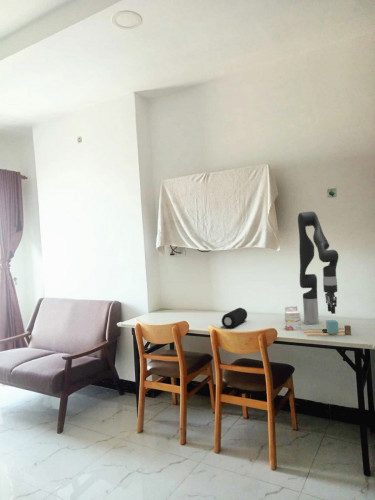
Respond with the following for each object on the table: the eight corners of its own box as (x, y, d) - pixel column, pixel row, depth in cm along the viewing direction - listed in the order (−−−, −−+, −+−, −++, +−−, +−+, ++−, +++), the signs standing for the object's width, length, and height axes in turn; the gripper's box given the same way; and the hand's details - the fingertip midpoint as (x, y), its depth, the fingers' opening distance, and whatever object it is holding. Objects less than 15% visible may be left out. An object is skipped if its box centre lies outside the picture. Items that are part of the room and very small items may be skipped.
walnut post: (344, 333, 208) (344, 325, 208) (349, 333, 207) (349, 325, 207) (346, 335, 205) (346, 326, 205) (351, 334, 205) (350, 326, 205)
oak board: (302, 330, 222) (302, 329, 222) (343, 329, 220) (343, 328, 220) (308, 337, 206) (308, 336, 206) (352, 336, 204) (352, 335, 204)
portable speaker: (236, 320, 262) (235, 306, 262) (248, 321, 257) (248, 307, 257) (220, 328, 241) (220, 313, 240) (234, 329, 235) (233, 314, 235)
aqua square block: (326, 331, 212) (326, 320, 212) (335, 330, 211) (335, 319, 211) (329, 333, 207) (328, 322, 206) (338, 333, 206) (337, 322, 206)
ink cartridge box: (287, 331, 222) (286, 308, 222) (285, 329, 227) (284, 306, 227) (301, 330, 222) (300, 307, 222) (298, 328, 227) (297, 305, 227)
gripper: (320, 282, 216) (321, 310, 216) (327, 285, 201) (328, 315, 202) (332, 282, 215) (334, 309, 215) (340, 285, 201) (342, 314, 201)
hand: (331, 312), depth 209 cm, fingers open, 5 cm apart
